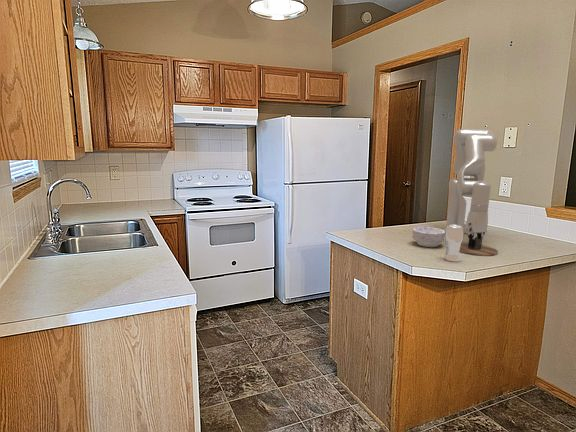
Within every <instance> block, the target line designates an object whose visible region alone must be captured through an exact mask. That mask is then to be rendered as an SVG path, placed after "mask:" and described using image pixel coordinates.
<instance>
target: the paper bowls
mask: <svg viewBox="0 0 576 432" xmlns="http://www.w3.org/2000/svg"><path fill="white" fill-rule="evenodd" d="M411 235H412V236H411V238H412V239H413V240H415V242H416V244H417V245H418V246H420V247H424V248H436V247H438V246H440V244H441V243H444V242H445V241H446V240H445V237H446V232H445V231H444V230H443V228H442V229H441V228H437V227H432V226H431V227H430V226H415V227H413V229H412V234H411Z"/></svg>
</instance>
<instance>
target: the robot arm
mask: <svg viewBox="0 0 576 432" xmlns="http://www.w3.org/2000/svg"><path fill="white" fill-rule="evenodd" d="M453 140H454V145H455V157H454V158H455V159H454V166H453V173H454V174H455V176H457V177H453V178H451V179H450V180H449V181H448V203H447V205H448V207H447V217H446V227H443V228H442V230H444V231H445V233H446V229H447V225H460V226H463V235H464V234H466V236H468V237H467V238H468V242H467V243H468V246H470V247H473V248H474V247H475V241H476V239H475V237H476V238H480V239H482V240H483V239H484V236H485V234H486V233H487V232H488V223H489V213H488V212H489V203H490V197H491V196H490V195H491V190H492V189H491V187H492V186H491V184H490V183H488V181H485V180H484V178H485V173H486V163H485V161H486V159H485V152H493V151H495V150H496V149H497V144H498V142H497V137H496V136H495V134H494V133H493V132H492V131H491V130H490V129H483V128H481V129H478V128H476V129H475V128H461V129H458V130H456V132H455V134H454V137H453ZM464 196H466V197H468V196H469V197H471V198H470V199H471V200H470V208H469V211H468V215H467V219H466V212H467V211H466V210H467V200H466V198H465V197H464ZM465 220H466V223H465ZM482 245H483V243H482V244H481V246H482Z"/></svg>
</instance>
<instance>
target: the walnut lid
mask: <svg viewBox="0 0 576 432" xmlns="http://www.w3.org/2000/svg"><path fill="white" fill-rule="evenodd" d="M476 237H477V236H475V239H476V241H475V247H474V248H473V247H470V246H468V243H469V242H465V243H464V242H462V244H461V247H460V250H459V253H461V254H466V255H471V256H477V257H478V256H479V257H493V256H497V255H498V253H499V251H498V250H497V249H496V248H494V247H490V246H487V245H483V238H482V239H480V238H476ZM481 244H482V246H481Z"/></svg>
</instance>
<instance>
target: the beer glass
mask: <svg viewBox="0 0 576 432" xmlns="http://www.w3.org/2000/svg"><path fill="white" fill-rule="evenodd" d="M463 240H464V234H463V226H460V225H447V229H446V232H445V240H444V241H445V249H446V250H445V255H444V260H446V261H448V262H453V263H455V262H460V252H459V250H460V247H461V244H462V243H463Z"/></svg>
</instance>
